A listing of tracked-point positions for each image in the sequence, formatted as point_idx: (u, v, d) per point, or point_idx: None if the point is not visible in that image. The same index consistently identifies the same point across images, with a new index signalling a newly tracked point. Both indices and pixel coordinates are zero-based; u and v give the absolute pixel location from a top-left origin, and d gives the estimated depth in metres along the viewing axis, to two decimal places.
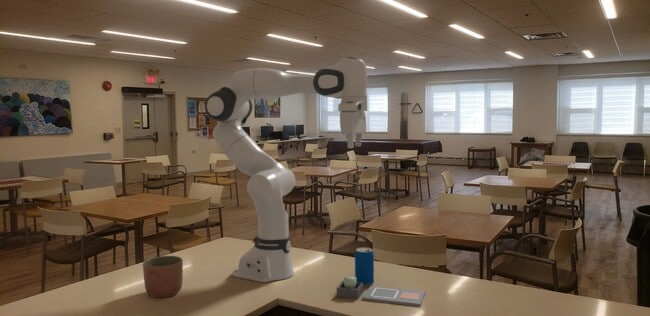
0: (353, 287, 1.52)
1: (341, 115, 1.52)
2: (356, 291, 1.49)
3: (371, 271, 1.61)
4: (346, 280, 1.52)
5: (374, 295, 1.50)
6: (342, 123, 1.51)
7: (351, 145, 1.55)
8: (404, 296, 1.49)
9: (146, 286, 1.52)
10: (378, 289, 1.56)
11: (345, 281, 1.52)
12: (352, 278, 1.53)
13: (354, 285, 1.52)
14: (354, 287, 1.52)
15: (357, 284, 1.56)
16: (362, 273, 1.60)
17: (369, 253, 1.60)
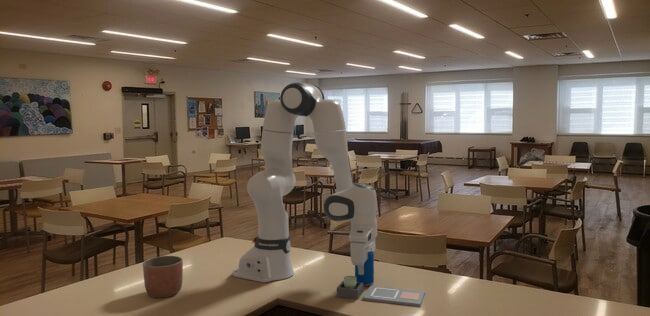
0: (353, 287, 1.52)
1: (352, 246, 1.54)
2: (356, 291, 1.49)
3: (371, 271, 1.61)
4: (346, 280, 1.52)
5: (374, 295, 1.50)
6: (353, 254, 1.54)
7: (362, 272, 1.59)
8: (404, 296, 1.49)
9: (146, 286, 1.52)
10: (378, 289, 1.56)
11: (345, 281, 1.52)
12: (352, 278, 1.53)
13: (354, 285, 1.52)
14: (354, 287, 1.52)
15: (357, 284, 1.56)
16: None
17: (369, 253, 1.60)
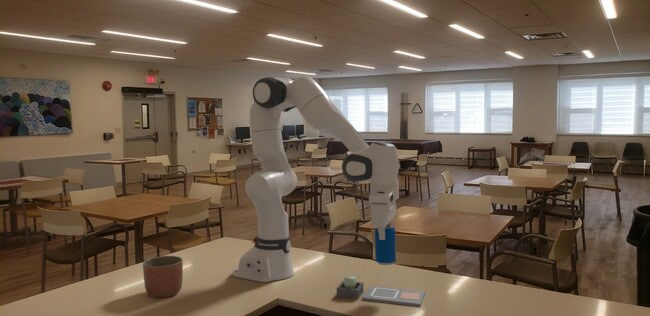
0: (353, 287, 1.52)
1: (372, 208, 1.42)
2: (356, 291, 1.49)
3: (393, 248, 1.49)
4: (346, 280, 1.52)
5: (374, 295, 1.50)
6: (374, 217, 1.41)
7: (383, 237, 1.46)
8: (404, 296, 1.49)
9: (146, 286, 1.52)
10: (378, 289, 1.56)
11: (345, 281, 1.52)
12: (352, 278, 1.53)
13: (354, 285, 1.52)
14: (354, 287, 1.52)
15: (357, 284, 1.56)
16: (384, 251, 1.48)
17: (391, 229, 1.48)
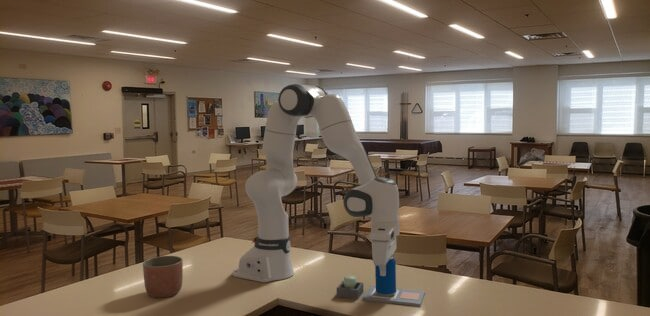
0: (353, 287, 1.52)
1: (373, 245, 1.42)
2: (356, 291, 1.49)
3: (393, 280, 1.49)
4: (346, 280, 1.52)
5: (374, 295, 1.50)
6: (375, 254, 1.42)
7: (384, 273, 1.47)
8: (404, 296, 1.49)
9: (146, 286, 1.52)
10: None
11: (345, 281, 1.52)
12: (352, 278, 1.53)
13: (354, 285, 1.52)
14: (354, 287, 1.52)
15: (357, 284, 1.56)
16: (384, 282, 1.49)
17: (391, 260, 1.49)
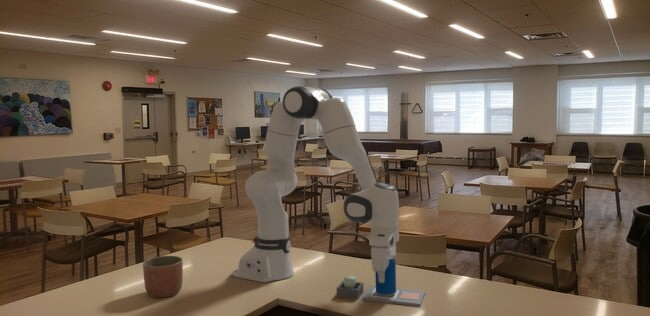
0: (353, 287, 1.52)
1: (373, 251, 1.43)
2: (356, 291, 1.49)
3: (393, 280, 1.49)
4: (346, 280, 1.52)
5: (374, 295, 1.50)
6: (374, 260, 1.42)
7: (382, 280, 1.46)
8: (404, 296, 1.49)
9: (146, 286, 1.52)
10: None
11: (345, 281, 1.52)
12: (352, 278, 1.53)
13: (354, 285, 1.52)
14: (354, 287, 1.52)
15: (357, 284, 1.56)
16: (384, 282, 1.49)
17: (391, 260, 1.49)
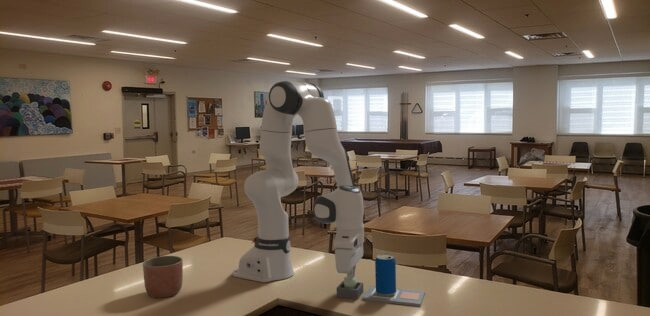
0: (353, 288, 1.52)
1: (336, 253, 1.44)
2: (356, 291, 1.49)
3: (393, 280, 1.49)
4: (346, 281, 1.52)
5: (374, 295, 1.50)
6: (338, 262, 1.44)
7: (351, 277, 1.52)
8: (404, 296, 1.49)
9: (146, 286, 1.52)
10: None
11: (345, 282, 1.52)
12: (352, 279, 1.53)
13: (354, 286, 1.52)
14: (354, 288, 1.52)
15: (357, 284, 1.56)
16: (384, 282, 1.49)
17: (391, 260, 1.49)
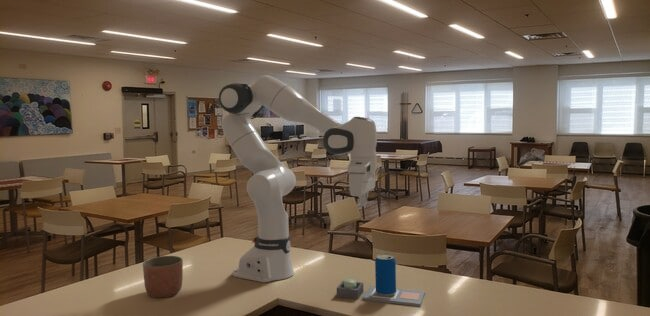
0: None
1: (350, 177, 1.53)
2: (356, 291, 1.49)
3: (393, 280, 1.49)
4: (346, 284, 1.52)
5: (374, 295, 1.50)
6: (351, 185, 1.52)
7: (363, 203, 1.60)
8: (404, 296, 1.49)
9: (146, 286, 1.52)
10: None
11: (345, 285, 1.52)
12: (352, 282, 1.53)
13: None
14: None
15: (357, 284, 1.56)
16: (384, 282, 1.49)
17: (391, 260, 1.49)
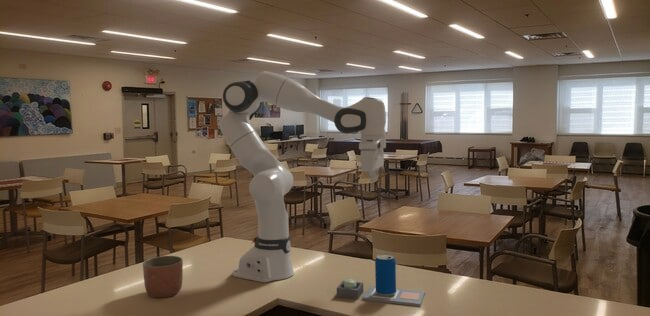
0: None
1: (362, 153, 1.61)
2: (356, 291, 1.49)
3: (393, 280, 1.49)
4: (346, 284, 1.52)
5: (374, 295, 1.50)
6: (363, 161, 1.60)
7: (373, 179, 1.68)
8: (404, 296, 1.49)
9: (146, 286, 1.52)
10: None
11: (345, 285, 1.52)
12: (352, 282, 1.53)
13: None
14: None
15: (357, 284, 1.56)
16: (384, 282, 1.49)
17: (391, 260, 1.49)
